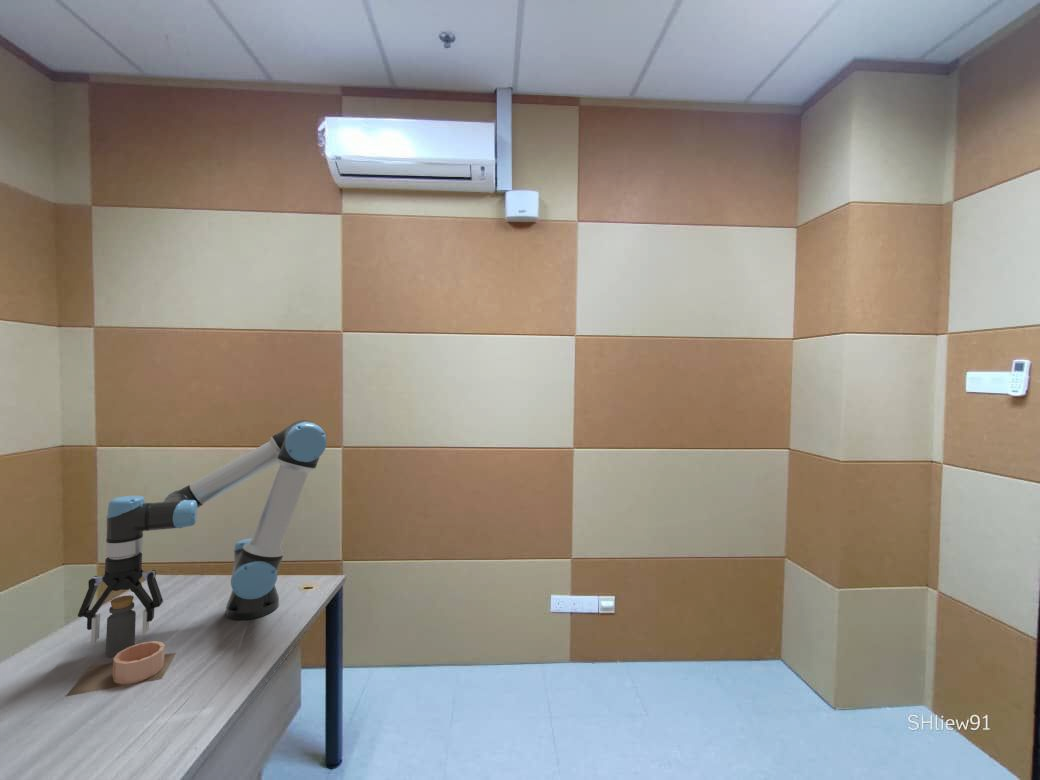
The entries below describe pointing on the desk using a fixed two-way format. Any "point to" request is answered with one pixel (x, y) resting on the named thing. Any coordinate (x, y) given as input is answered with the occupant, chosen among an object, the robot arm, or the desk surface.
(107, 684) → the board
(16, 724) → the desk surface
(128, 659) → the terracotta bowl
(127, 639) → the bottle
